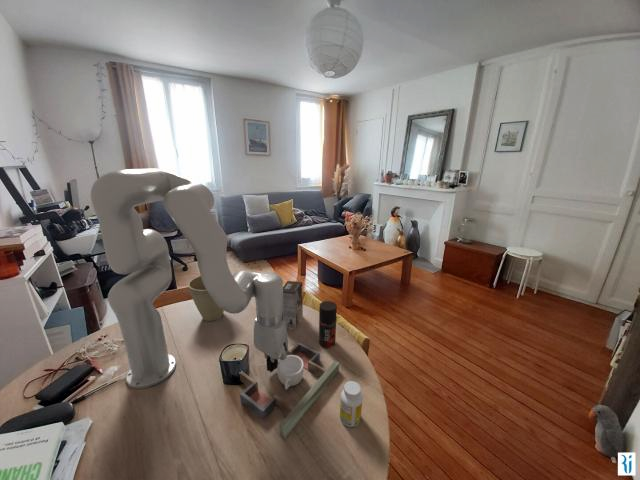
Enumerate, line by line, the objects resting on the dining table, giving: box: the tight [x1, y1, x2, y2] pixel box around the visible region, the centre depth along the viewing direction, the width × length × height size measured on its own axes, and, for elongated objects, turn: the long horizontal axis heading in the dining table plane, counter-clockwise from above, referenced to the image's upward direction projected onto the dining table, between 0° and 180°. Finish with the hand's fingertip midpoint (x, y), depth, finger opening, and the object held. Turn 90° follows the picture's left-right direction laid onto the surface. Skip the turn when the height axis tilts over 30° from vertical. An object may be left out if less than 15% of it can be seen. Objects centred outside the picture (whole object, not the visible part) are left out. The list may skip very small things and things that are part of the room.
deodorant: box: [318, 300, 338, 349], centre depth 89 cm, size 6×6×15 cm
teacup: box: [276, 355, 305, 391], centre depth 73 cm, size 10×8×5 cm
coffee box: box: [283, 280, 304, 330], centre depth 100 cm, size 9×6×16 cm
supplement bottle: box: [339, 380, 363, 428], centre depth 63 cm, size 5×5×10 cm
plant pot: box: [188, 275, 225, 322], centre depth 103 cm, size 15×15×16 cm
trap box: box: [239, 342, 340, 439], centre depth 76 cm, size 26×25×3 cm
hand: (272, 368), depth 77 cm, fingers closed
